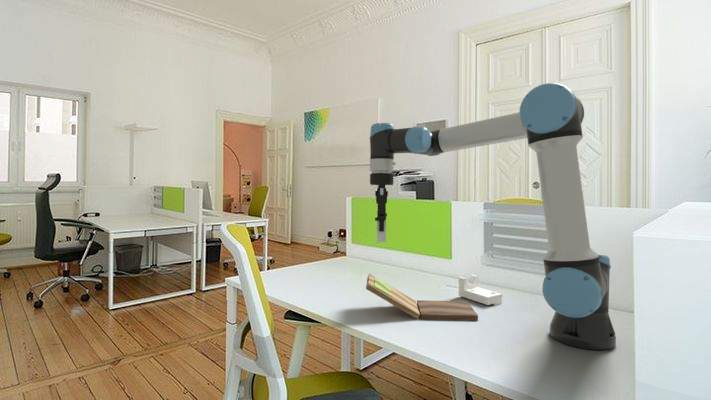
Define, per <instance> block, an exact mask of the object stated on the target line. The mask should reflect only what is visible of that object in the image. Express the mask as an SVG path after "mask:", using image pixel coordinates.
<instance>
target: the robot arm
mask: <svg viewBox="0 0 711 400" xmlns="http://www.w3.org/2000/svg"><path fill="white" fill-rule="evenodd" d="M584 117H585V109H584V104H583V102H582V101H581V100H580V98H578V97H577V96H576V95H575V93H574V91H573V90H572V89H571V88H569V87H568V86H566V85H564V84H562V83H561V84H560V83H557V82H547V83H543V84H539V85H538V86H535V87H534V88H532V89H531V90H530V91H529V92H527V94H526V95H525V96H524V97H523V99H522V100H521V103H520V106H519V112H514V113H511V114H510V113H509V114H506V115H505V114H504V115H501V116H496V117H491V118H486V119H483V120H477V121H473V122H469V123H464V124H459V125H455V126H450V127H445V128H441V129H435V130H431V131H429V129H428V128H427V127H425V126H413V127H405V128H395V126H394V124H393V123H390V122H376V123H373V124H372V125H371V127H370V132H369V133H370V134H369V135H370V136H369V143H370V144H369V145H370V147H369V152H370V153H369V154H370V155H369V156H370V158H369V171H370V172H371V173H370V174H369V185H371V186H377V188H376V189H377V190H375V203H376V204H377V212H376V213H377V214H376V215H377V217H374V221H376V242H377V243H386V242H387V221H386V220H387V216H388V214H387V211H386V209H387V208H386V205H387V203H388V196H389V191H388V190H387V188H386V186H393V185H394V173H392V172H394V166H395V165H396V161H394V157H395V156H394V155H395V154H415V155H416V154H417V155H423V156H429V157H433V156H434V157H435V156H440V155H441V154H444V153H448V152H453V151H454V152H455V151H460V150H466V149H472V148H476V147H484V146H489V145H495V144H501V143H507V142H512V141H519V140H525V139H527V144H528V148H530V149H531V150H533V151H534V152H535V153H536V159H537V160H536V161H537V166H538V175H539V181H540V182H539V183H540V184H539V185H540V190H541V191H540V192H541V198H542V207H543V215H544V221H545V228H546V229H545V230H546V236H547V245H548V251H547V252H546V253H545V254H544V255H543V257H542V260H543V267H544V268H543V269H544V276H545V277H544V279H543V281H542V291H541V292H542V295H543V298H544V300H545V302H546V303H547V304H548V306H549V307H550V308H551V309H552V310H554V314H553V317H552V319H551V322H550V324H549V335H550V337H551V338H553V339H555V340H556V341H557V342H560V343H562V344H565V345H567V346H571V347H574V348H579V349H585V350H593V351H605V350H606V351H607V350H610V349H613V348H615V347H616V346H617V345H616V343H617V335H616V332H615V329H614V326H613V322H612V320H611V317H610V313H609V311H610V310H609V308H610V305H609V304H610V275H611V272H610V271H611V270H610V269H611V267H612V265H611V259H610V257H609V256H608V255H606V254H604V253H603V254H602V253H597V252H596V251H595V250H593V249H592V248H591V244H590V238H589V236H590V235H589V231H588V230H589V229H588V222H587V216H586V209H585V208H586V206H585V200H584V192H583V185H582V178H581V172H580V171H581V170H580V163H579V155H578V149H577V146H578V144H579V143H580V142H581V141H582V139H583V138H584V137H583V128H582V123H583V120H584Z"/></svg>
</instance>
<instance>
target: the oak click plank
mask: <svg viewBox="0 0 711 400" xmlns="http://www.w3.org/2000/svg"><path fill="white" fill-rule="evenodd" d="M365 290H367V291H369V292H370V293H372V294H374V295H376V296H377V297H379V298H381V299H382V300H384V301H386V302H387V303H389V304H391V305H393V306H394V307H396V308H397V309H399V310H401V311H403V312H404V313H406V314H407V315H409V316H411V317H413V318H415V319H417V320H418V319H419V317H421V316H420V313H419V310H418V307H417V300H415V299H414V298H412V297H410V296H408V295H406V294H405V293H403V292H401V291H399V290H398V289H396V288H394V287H392V286H391V285H389V284H387V283H386V282H384V281H382V280H381V279H379V278H377V277H376V276H374V275H372V274H370V273H369V274H368V276H367V278H366V285H365Z"/></svg>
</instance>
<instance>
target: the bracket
mask: <svg viewBox="0 0 711 400" xmlns="http://www.w3.org/2000/svg"><path fill="white" fill-rule="evenodd" d="M458 296H460V297H463V298H466V299H469V300H471V301H475V302H477V303H481V304H483V305H487V306H489V305H492V304H493V306H498V305H502V304H503V294H502V293H501V292H500V293H499V292H497V291H492V290H490V289H485V288H482V287H479V275H474V274H470V277H469V280H468V281H467V278H466V277H463V276H459V277H458Z"/></svg>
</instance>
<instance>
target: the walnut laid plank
mask: <svg viewBox="0 0 711 400" xmlns="http://www.w3.org/2000/svg"><path fill="white" fill-rule="evenodd" d="M416 304H417V307H418V310H419V314H420V316H419V317H420V319H421V320H436V321H437V320H439V321H440V320H441V321H442V320H443V321H479V315H478V314H477V313H478V312H476V311H475V309H474V308H473V307H472V305H471V304H470V302H469V301H468V300H467V301H466V300H463V301H462V300H426V299H425V300H424V299H423V300H421V299H418V300H416Z"/></svg>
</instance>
